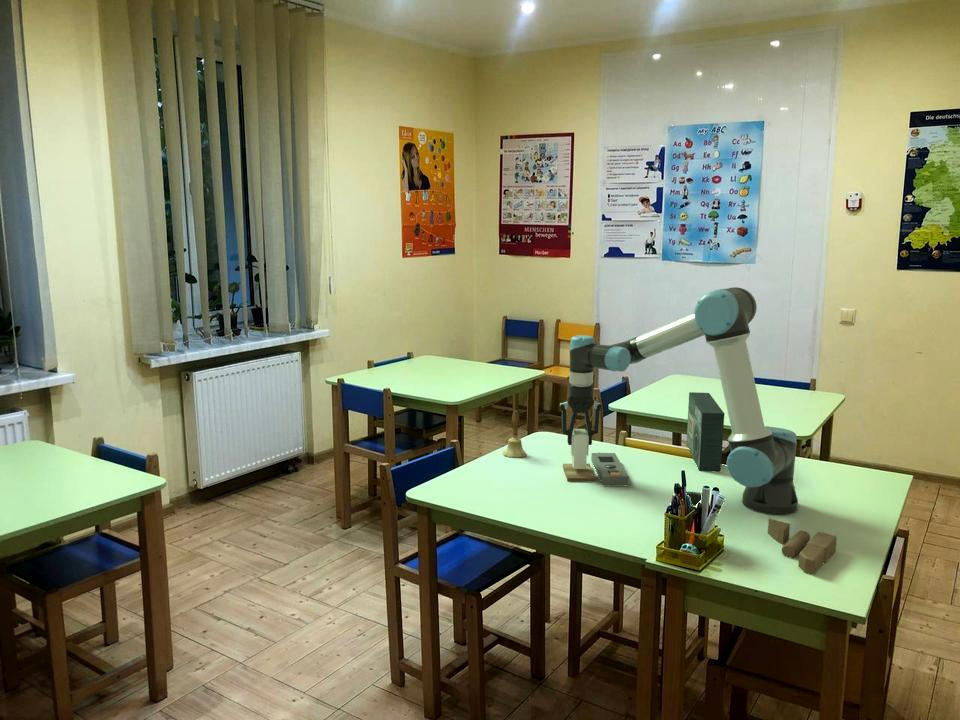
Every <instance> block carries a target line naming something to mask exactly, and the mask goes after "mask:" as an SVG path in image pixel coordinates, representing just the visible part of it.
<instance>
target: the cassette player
mask: <svg viewBox="0 0 960 720" xmlns="http://www.w3.org/2000/svg"><path fill="white" fill-rule="evenodd" d="M687 406H688V410H687V427H686V428H687V429H686V445H685V446H686V447H687V449H688V448H689V449H690V451H689V453H690V455H691V457H692V459H693V461H695V462H694V463H696V464H695V465H697V466H696V468H697V467H698V468H697V469H698V471H699V472H712V471H715V473H721V472H722V471H721V470H722V458H723V444H724V443H723V442H724V427H725V426H724V425H725V412H724V410H722V408H721V407H720V405H719V404H718V403H717V402H716V400H715V399H714V398H713V396H712V395H711V394H710V393H709V392H696V391H695V392H693V391H692V392H691V391H690V392H688V405H687ZM689 449H688V450H689Z"/></svg>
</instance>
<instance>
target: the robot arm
mask: <svg viewBox="0 0 960 720" xmlns="http://www.w3.org/2000/svg"><path fill="white" fill-rule="evenodd" d="M756 301H757V300H756V299H755V297H754V296H753V294H752V292H750V291H749V290H747V289H745V288H742V287H737V286H734V287H728V288H719V289H714V290H712V291H710V292H707V293H706V294H704V295H702V297H700V299H699V300H698V301H697V302H696V304H695V307H694V309H693V310H694V311H693V312H692V313H689V314H687V315H684V316H682V317H680V318H677V319H675V320H672V321H671V322H668V323H665V324H664V325H663V324H662V325H661V326H659V327H655V328H654V329H652V330H650V331H647V332H645V333H642V334H640V335H638V336H636V337H633V338H630V339H628V340H625V341H622V342H617V343H613V344H610V345H609V344H598V343H595V342H596V341H595V338H594V336H591V335H585V334H583V335H582V334H581V335H580V334H579V335H574V336H572V337H571V339H570V344H569V345H570V347H569V350H568V351H569V378H568V379H569V381H568V383H569V385H568V389H569V390H568V399H567V400H566V401H565V402H559V407H560V409H561V431H562V434H564V435H567V444H568V446H570V456H571V457H572V456H574V435H573V429H575V423H576V419H577V416H578V414H579V413H582V414H584V420H585V426H586V432H587V457H588V456H589V446H591V445H592V444H593V435H597V434H598V433H599V424H600V421H599V420H600V411H601V409H602V404H601V402H596V401H595V400H594V399H593V395H594V386H593V383H594V368H595V369H600V370H606V371H611V372H624V371H626V370H627V368H628V367H629V366H630V365H632V364H637V363H641V362H642V361H644V360H646V359H648V358H650V357H653V356H655V355H656V356H657V354H661V353H663V352H665V351H668V350H671V349H673V348H675V347H678V346H681V345H683V344H685V343H688V342H691V341H693V340H695V339H698V338H701V337H703V336H704V338H705V341H706V344H708V345H710V346H711V347H712V348H713V350H714V351H713V352H714V356H715V360H716V364H717V369H718V370H717V371H718V374H719V378H720V383H721V388H722V393H723V397H724V402H725V405H726V411H727V414H728V419H729V424H730V429H731V434H730V435H729V436H728V438H727V441H728V447H729V450H730V453H729V454H728V456H727V460H726V467H727V472H728V473H729V475H730V476H731V478H732V479H733V480H734V481H735V482H737V483H738V484H740V485H741V486H744V490H743V493H742V498H741V502H742V504H743V506H744V507H746V508H748V509H750V510H753V511H756V512H758V513H762V514H767V515H769V514H770V515H778V516H779V515H790V514H793V513H795V512H797V511H798V509H799V508H798V507H799V500H798V495H797V492H796V489H795V488H796V487H795V483H794V477H795V476H794V475H795V462H796V451H797V445H798V442H797V434H796V432H794V431H793V430H789V429H786V428H783V427H776V426H769V425H767V426H766V425H765V423H764V422H765V421H764V419H763V413H762V408H761V405H760V400H759V396H758V390H757V386H756V381H755V376H754V372H753V368H752V362H751V358H750V353H749V350H748V346H747V340H748V338H749V337H750V335H751V331H750V326H749V324H750V323H751V322H752V321H753V319H754V318H755V316H756V313H757V302H756ZM568 406H569V407H570V408H571V410H572V411H571V416H570V421H569V425H568V428H567V409H568ZM592 407H593V409H594V413H593V428H592V424H591V420H590V419H591V418H590V414H589V413H590V412H589V411H590V409H592Z"/></svg>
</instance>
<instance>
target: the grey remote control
mask: <svg viewBox="0 0 960 720" xmlns="http://www.w3.org/2000/svg"><path fill="white" fill-rule="evenodd" d="M590 457H591V461H592V462H591V463H593V464H592V465H594V466H593V468H594V467H595V468H594V470H595V469H596V470H595V472H597V473H596V474H598V475H597V477H598V476H599V477H598V479H599V478H600V479H599V480H601V481H600V483H601V486H602V485H628V486H629V479H630V478H629V475H628V473H627V471H626V470H625V468H624V466H623V463H621V460H620V459H619V457H618V456H617V454H616V453H615V452H591V456H590Z"/></svg>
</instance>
